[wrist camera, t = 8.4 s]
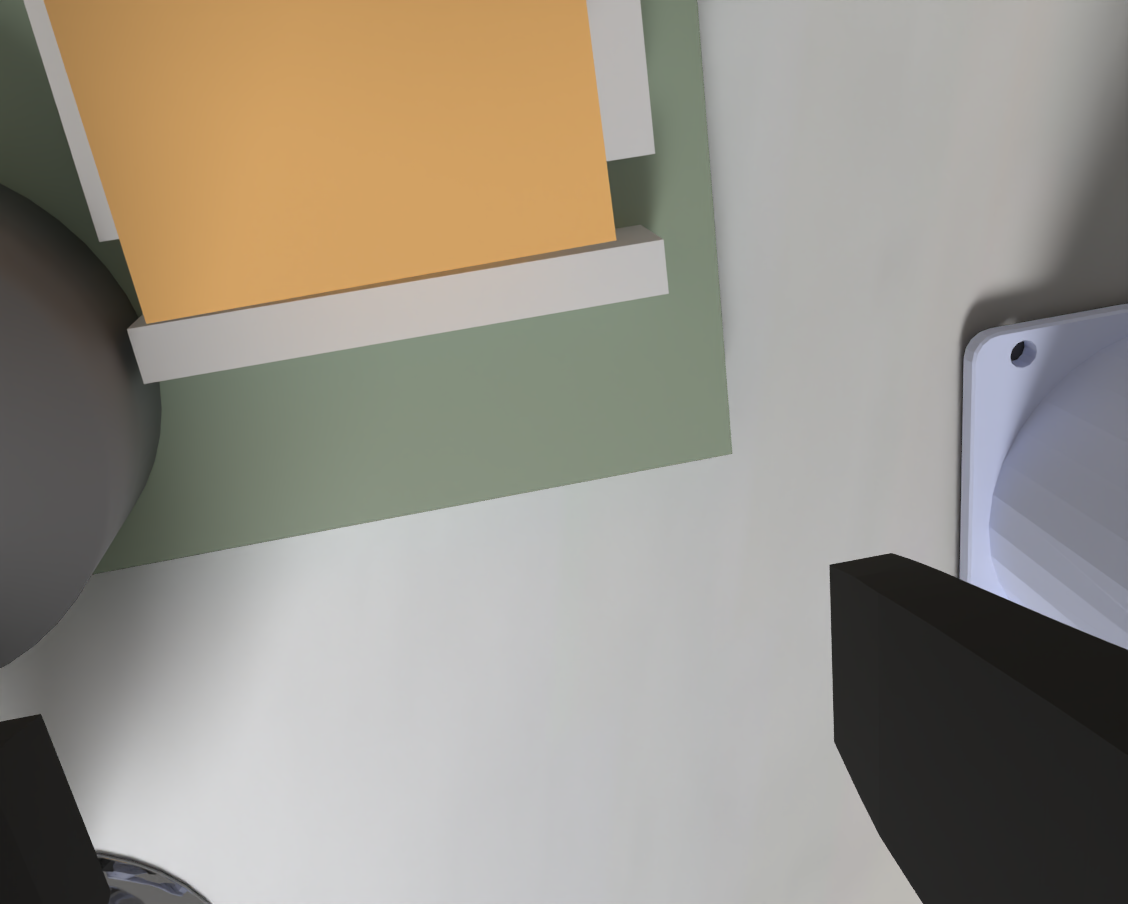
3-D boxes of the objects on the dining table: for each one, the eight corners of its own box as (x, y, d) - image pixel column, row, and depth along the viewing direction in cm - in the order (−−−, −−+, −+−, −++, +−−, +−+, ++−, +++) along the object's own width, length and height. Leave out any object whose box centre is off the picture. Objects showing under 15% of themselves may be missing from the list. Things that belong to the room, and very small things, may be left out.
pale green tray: (633, -437, 14) (732, -656, 10) (707, 425, 19) (795, 526, 14) (-610, -309, 12) (-1125, -502, 8) (-177, 589, 17) (-361, 754, 13)
